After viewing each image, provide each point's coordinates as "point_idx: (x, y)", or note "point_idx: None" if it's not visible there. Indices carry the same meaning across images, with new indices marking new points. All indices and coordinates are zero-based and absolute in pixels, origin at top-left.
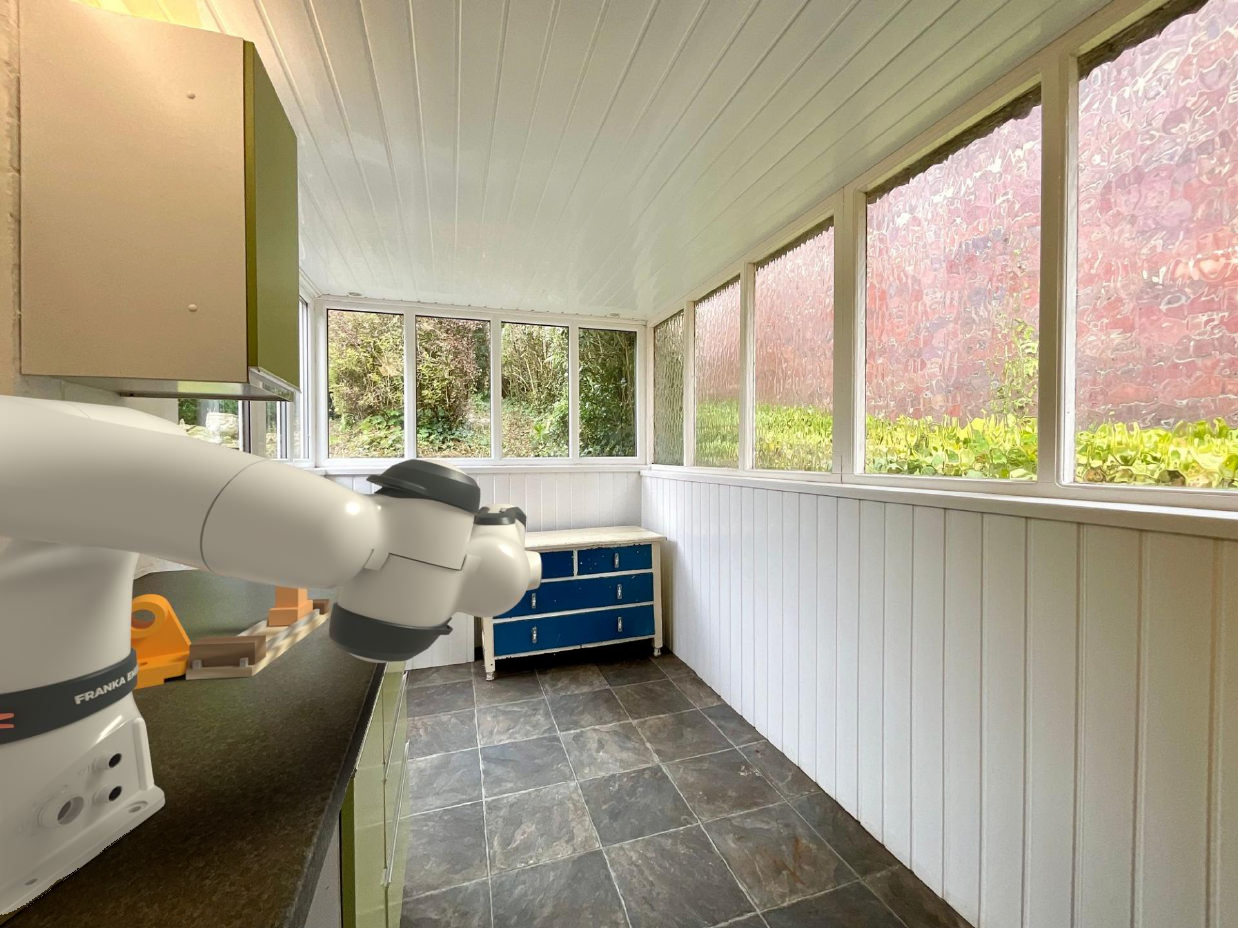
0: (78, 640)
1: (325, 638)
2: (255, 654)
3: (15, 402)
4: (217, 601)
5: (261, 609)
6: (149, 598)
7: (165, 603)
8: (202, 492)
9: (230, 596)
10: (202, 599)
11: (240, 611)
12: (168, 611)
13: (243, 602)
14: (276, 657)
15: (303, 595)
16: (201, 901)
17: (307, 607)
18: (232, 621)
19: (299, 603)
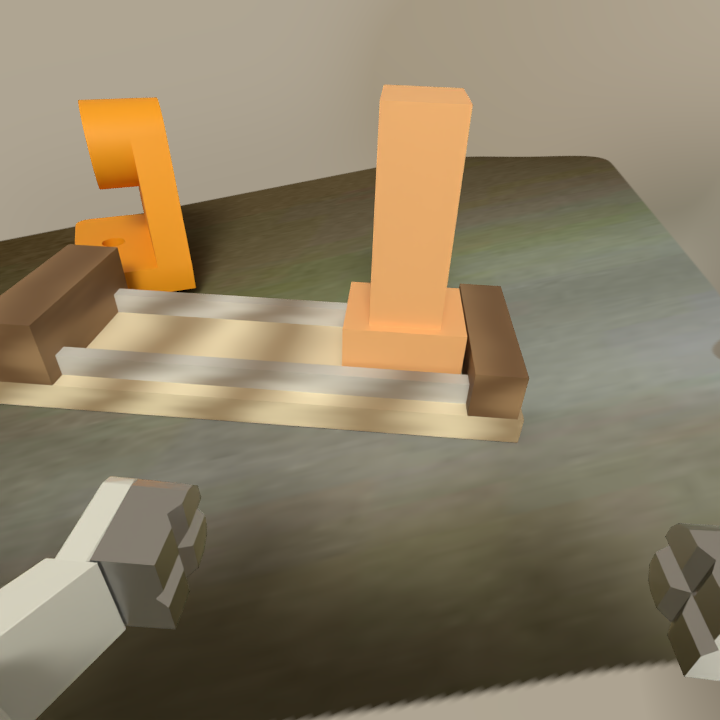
0: None
1: (261, 488)
2: None
3: None
4: (615, 233)
5: (575, 293)
6: (112, 102)
7: (135, 130)
8: None
9: (659, 237)
10: (621, 218)
11: (551, 271)
12: (133, 152)
13: (622, 260)
14: (118, 411)
15: (414, 298)
16: None
17: (419, 349)
18: (472, 278)
19: (377, 316)
